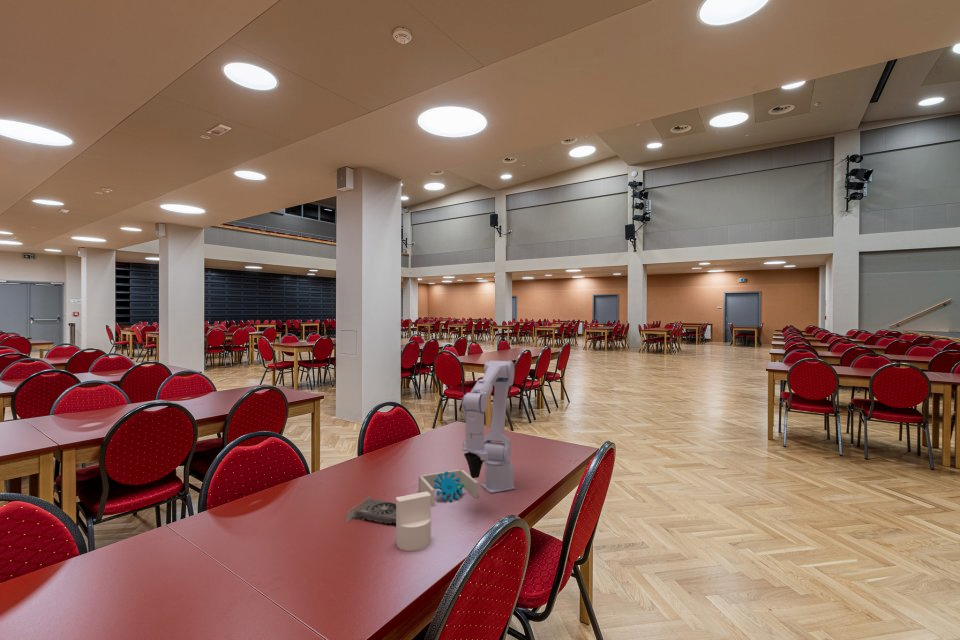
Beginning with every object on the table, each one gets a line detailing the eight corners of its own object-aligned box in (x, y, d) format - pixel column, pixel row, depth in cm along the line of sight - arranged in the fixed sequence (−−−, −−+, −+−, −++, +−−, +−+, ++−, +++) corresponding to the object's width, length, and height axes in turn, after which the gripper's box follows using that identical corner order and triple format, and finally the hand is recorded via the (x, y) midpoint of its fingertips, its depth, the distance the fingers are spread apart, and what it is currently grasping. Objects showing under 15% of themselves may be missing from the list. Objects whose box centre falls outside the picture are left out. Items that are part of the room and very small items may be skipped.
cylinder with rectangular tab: (402, 554, 108) (402, 506, 108) (392, 538, 116) (391, 493, 116) (436, 545, 112) (435, 499, 112) (423, 530, 120) (423, 487, 120)
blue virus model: (437, 500, 137) (433, 470, 144) (431, 508, 140) (427, 479, 147) (469, 499, 141) (464, 470, 148) (463, 507, 145) (458, 478, 152)
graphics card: (343, 511, 126) (368, 494, 137) (343, 524, 126) (368, 506, 137) (393, 521, 120) (415, 503, 131) (393, 535, 120) (415, 515, 131)
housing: (462, 483, 155) (462, 469, 156) (478, 497, 143) (478, 482, 143) (418, 490, 149) (418, 475, 149) (431, 506, 136) (431, 490, 136)
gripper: (454, 428, 137) (454, 471, 137) (472, 439, 124) (472, 487, 124) (474, 426, 140) (474, 468, 140) (494, 437, 127) (494, 483, 127)
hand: (475, 477), depth 132 cm, fingers closed
